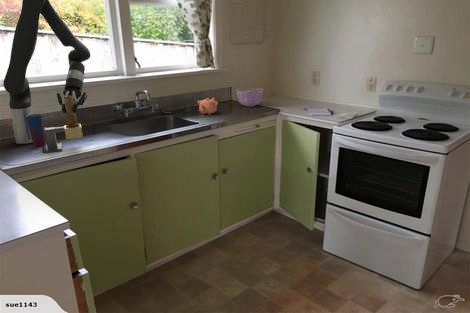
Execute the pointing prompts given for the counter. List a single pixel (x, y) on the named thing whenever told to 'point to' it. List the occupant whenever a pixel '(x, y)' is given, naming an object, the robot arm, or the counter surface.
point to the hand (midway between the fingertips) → (69, 112)
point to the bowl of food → (249, 96)
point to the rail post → (70, 111)
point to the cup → (36, 129)
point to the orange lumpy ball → (207, 106)
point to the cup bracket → (51, 137)
